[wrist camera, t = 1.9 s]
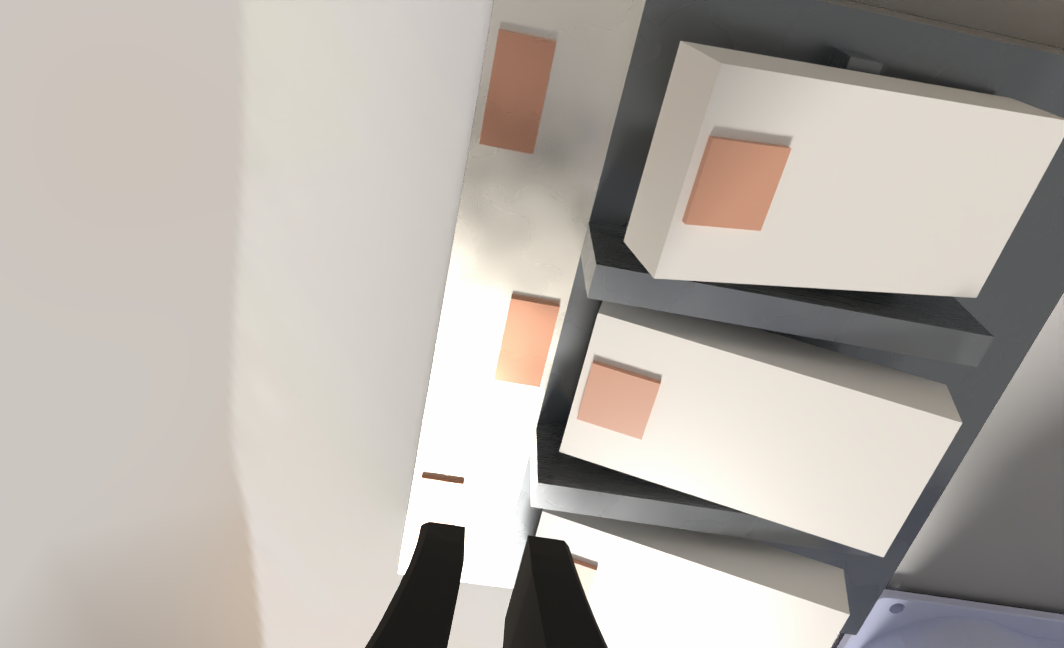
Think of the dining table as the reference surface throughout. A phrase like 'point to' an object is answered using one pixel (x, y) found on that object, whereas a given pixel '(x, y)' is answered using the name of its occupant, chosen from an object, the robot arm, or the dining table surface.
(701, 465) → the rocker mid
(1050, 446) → the dining table surface
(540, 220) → the switch panel
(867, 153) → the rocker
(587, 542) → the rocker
